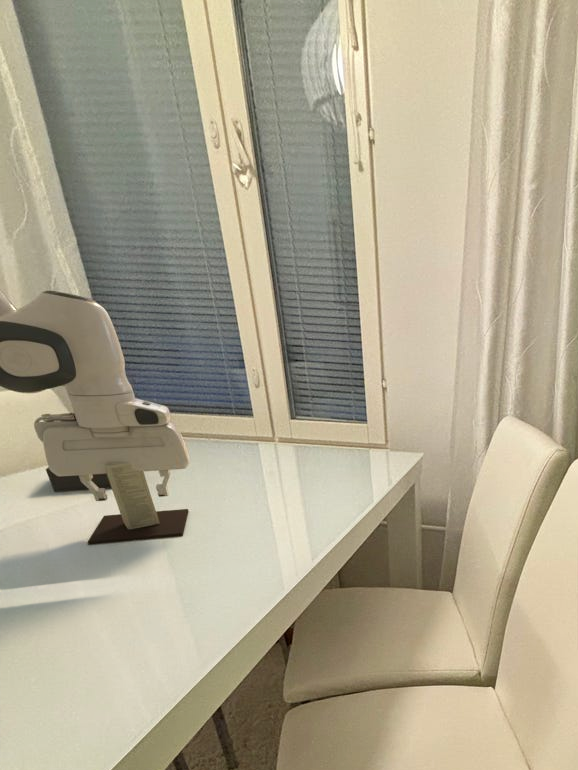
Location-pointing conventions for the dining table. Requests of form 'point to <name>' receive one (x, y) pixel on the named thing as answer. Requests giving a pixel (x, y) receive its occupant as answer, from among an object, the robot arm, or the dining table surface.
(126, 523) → the box
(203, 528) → the dining table surface
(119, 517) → the mat
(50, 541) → the dining table surface
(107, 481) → the bin
